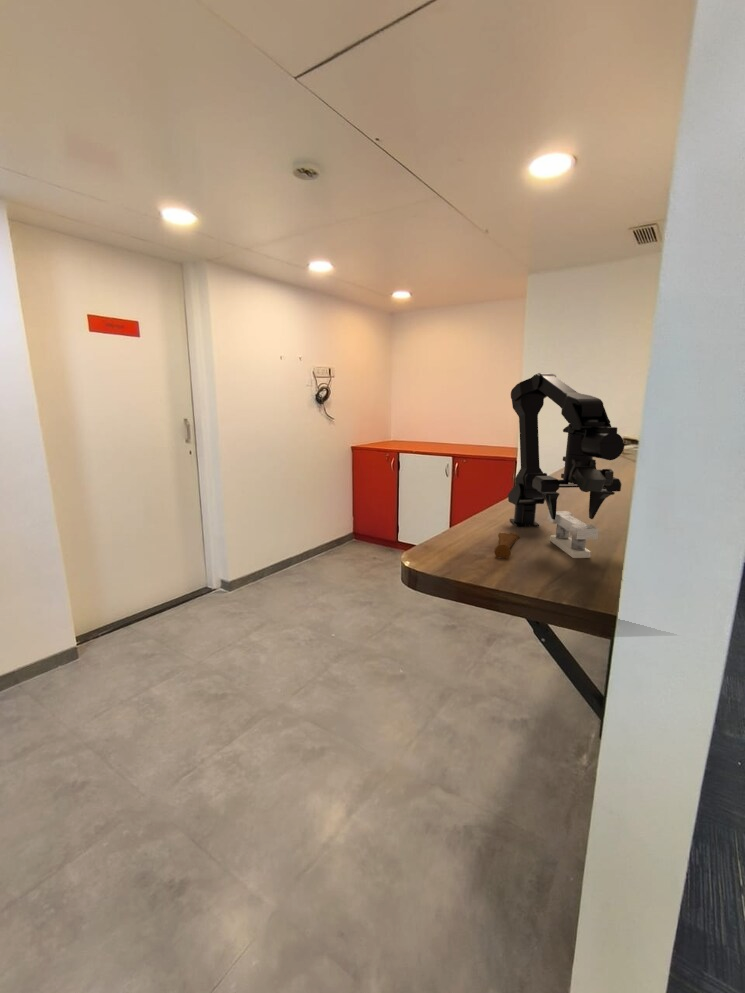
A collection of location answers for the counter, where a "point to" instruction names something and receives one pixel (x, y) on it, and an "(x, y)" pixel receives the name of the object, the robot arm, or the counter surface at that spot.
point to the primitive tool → (505, 544)
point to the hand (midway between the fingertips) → (572, 519)
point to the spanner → (574, 525)
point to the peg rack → (570, 544)
